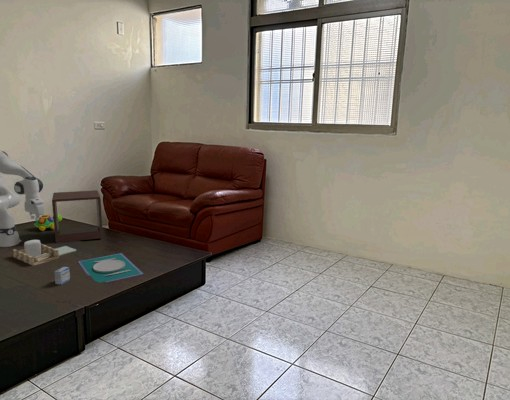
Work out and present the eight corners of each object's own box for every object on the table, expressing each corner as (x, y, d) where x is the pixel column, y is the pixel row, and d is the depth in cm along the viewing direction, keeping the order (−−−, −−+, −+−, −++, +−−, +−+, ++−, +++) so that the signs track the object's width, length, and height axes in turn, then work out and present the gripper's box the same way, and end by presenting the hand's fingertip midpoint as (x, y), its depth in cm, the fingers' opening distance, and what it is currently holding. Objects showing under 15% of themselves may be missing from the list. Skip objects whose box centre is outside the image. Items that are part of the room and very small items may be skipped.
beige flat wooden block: (31, 263, 260) (31, 260, 259) (47, 257, 270) (47, 255, 270) (36, 264, 258) (36, 262, 257) (52, 259, 268) (52, 256, 268)
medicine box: (61, 285, 227) (60, 272, 225) (55, 284, 228) (54, 271, 226) (70, 280, 235) (69, 266, 233) (63, 279, 235) (62, 266, 233)
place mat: (77, 262, 264) (77, 259, 264) (121, 254, 282) (121, 251, 282) (94, 286, 229) (94, 282, 229) (143, 274, 247) (143, 271, 247)
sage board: (47, 251, 280) (47, 250, 280) (65, 246, 292) (65, 245, 291) (58, 256, 273) (58, 255, 272) (76, 250, 284) (76, 249, 284)
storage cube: (100, 228, 340) (97, 190, 333) (102, 237, 315) (100, 196, 307) (56, 232, 325) (53, 192, 318) (55, 242, 300) (51, 199, 292)
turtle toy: (66, 227, 341) (64, 214, 338) (37, 232, 325) (36, 219, 322) (59, 223, 352) (58, 211, 350) (31, 228, 336) (30, 215, 333)
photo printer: (41, 254, 275) (39, 238, 272) (42, 256, 272) (40, 239, 269) (24, 257, 269) (22, 240, 266) (25, 259, 265) (24, 242, 263)
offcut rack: (13, 257, 268) (12, 249, 266) (39, 250, 283) (38, 242, 281) (32, 266, 254) (31, 257, 252) (59, 258, 269) (58, 250, 267)
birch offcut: (33, 260, 260) (33, 257, 259) (45, 255, 269) (45, 252, 269) (38, 261, 259) (37, 258, 258) (50, 256, 268) (49, 253, 267)
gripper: (20, 198, 266) (23, 217, 269) (35, 202, 255) (37, 222, 258) (30, 197, 271) (32, 215, 274) (45, 201, 260) (47, 220, 263)
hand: (35, 219), depth 266 cm, fingers open, 5 cm apart
